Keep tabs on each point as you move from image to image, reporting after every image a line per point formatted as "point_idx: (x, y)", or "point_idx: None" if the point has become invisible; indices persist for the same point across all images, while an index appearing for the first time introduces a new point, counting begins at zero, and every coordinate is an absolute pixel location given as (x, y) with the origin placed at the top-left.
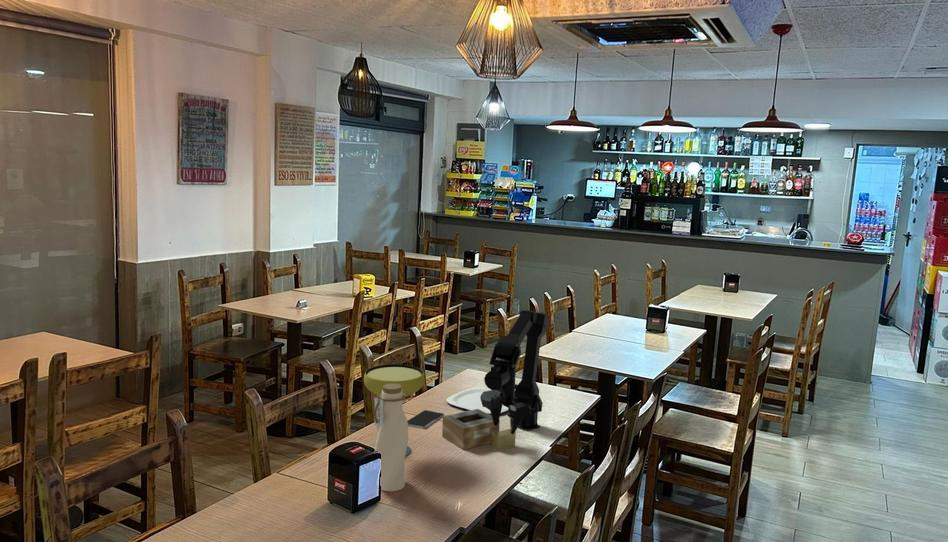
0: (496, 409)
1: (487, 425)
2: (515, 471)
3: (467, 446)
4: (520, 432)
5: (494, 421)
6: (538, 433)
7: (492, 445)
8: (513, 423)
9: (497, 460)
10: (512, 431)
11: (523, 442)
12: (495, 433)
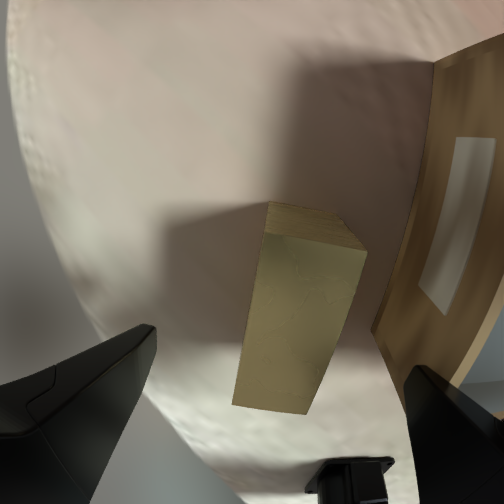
0: (466, 498)
1: (467, 306)
2: (31, 101)
3: (439, 91)
4: (338, 443)
5: (434, 384)
6: (275, 468)
7: (332, 217)
8: (31, 383)
9: (163, 95)
10: (121, 338)
11: None
12: (336, 269)
